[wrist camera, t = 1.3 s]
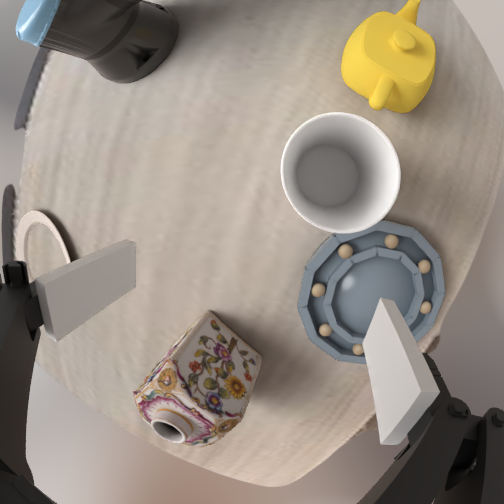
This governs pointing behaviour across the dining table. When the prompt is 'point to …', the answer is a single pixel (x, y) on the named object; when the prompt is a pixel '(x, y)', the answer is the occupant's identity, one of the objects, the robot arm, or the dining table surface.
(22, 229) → the plate
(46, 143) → the dining table surface
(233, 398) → the decorative jar
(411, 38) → the teapot
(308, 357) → the dining table surface
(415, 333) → the tray
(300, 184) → the cup
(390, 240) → the beads
